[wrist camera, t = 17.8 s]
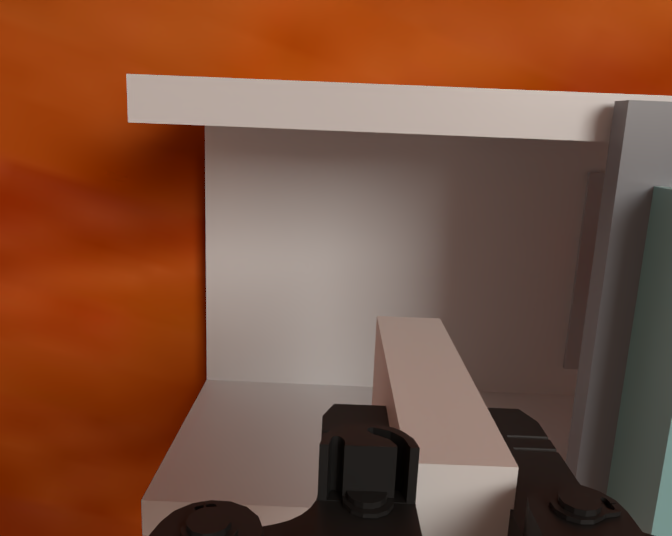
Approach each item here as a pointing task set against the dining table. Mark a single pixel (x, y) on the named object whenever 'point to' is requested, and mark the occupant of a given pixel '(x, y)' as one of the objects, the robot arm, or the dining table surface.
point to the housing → (374, 259)
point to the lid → (630, 326)
